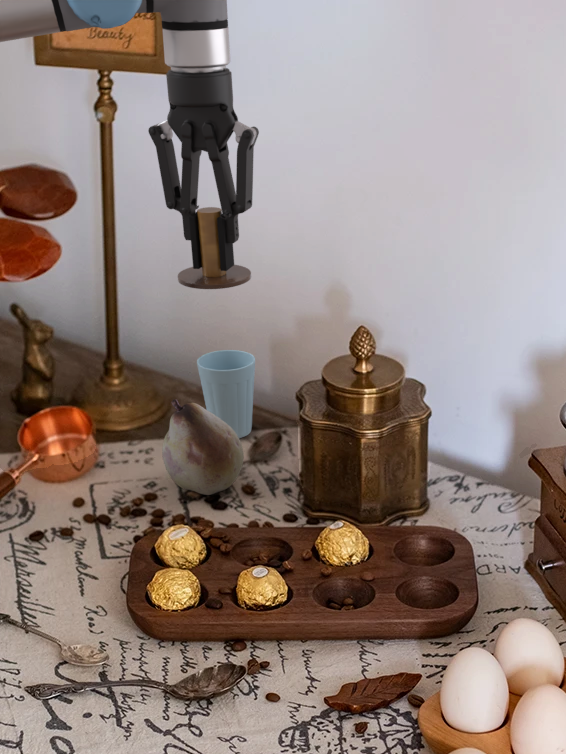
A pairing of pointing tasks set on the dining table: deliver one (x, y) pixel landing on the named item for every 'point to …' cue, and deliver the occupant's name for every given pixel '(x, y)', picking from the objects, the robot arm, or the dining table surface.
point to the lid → (212, 258)
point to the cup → (229, 387)
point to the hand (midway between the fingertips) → (213, 266)
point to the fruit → (201, 450)
